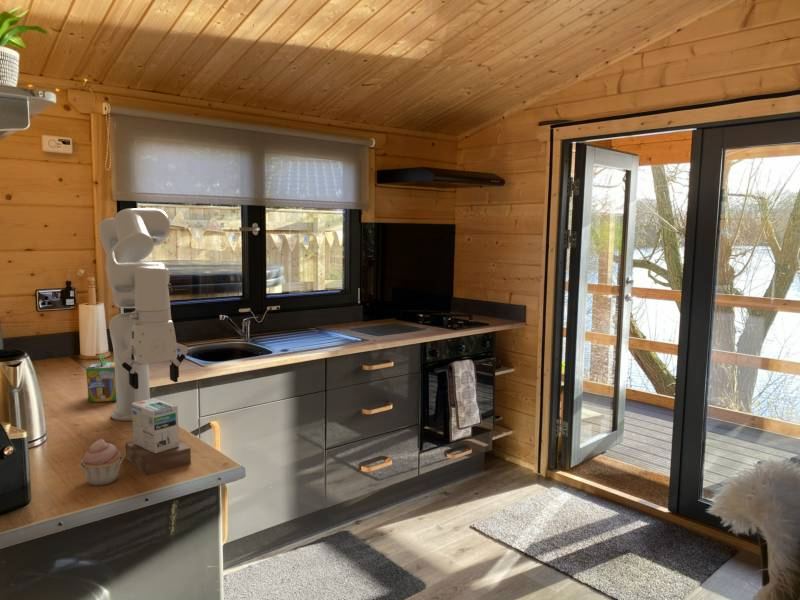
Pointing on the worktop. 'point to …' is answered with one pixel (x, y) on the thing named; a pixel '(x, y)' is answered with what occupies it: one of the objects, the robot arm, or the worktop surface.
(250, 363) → the worktop surface
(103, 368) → the chalk box
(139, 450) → the walnut base block
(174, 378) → the robot arm
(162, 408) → the light bulb box
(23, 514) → the worktop surface
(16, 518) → the worktop surface
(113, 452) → the cupcake
